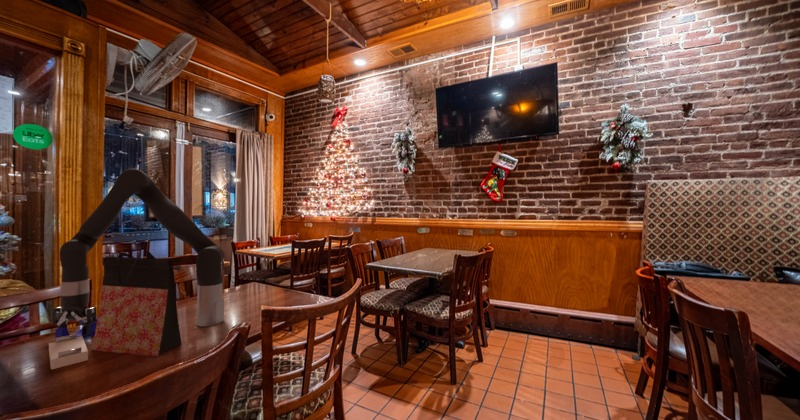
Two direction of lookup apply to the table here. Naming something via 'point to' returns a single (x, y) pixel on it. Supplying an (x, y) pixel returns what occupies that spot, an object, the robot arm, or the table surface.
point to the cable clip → (64, 332)
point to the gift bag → (137, 306)
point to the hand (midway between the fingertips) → (74, 335)
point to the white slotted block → (67, 351)
